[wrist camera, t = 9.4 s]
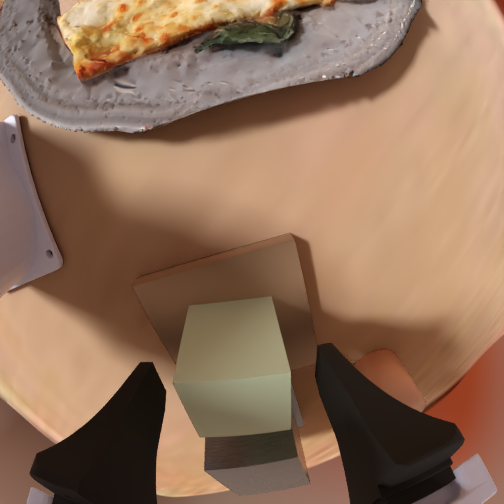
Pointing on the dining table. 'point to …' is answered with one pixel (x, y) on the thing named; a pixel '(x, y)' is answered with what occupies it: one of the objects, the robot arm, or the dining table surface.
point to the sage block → (234, 369)
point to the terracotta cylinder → (391, 377)
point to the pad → (234, 293)
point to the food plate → (183, 54)
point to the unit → (259, 459)
